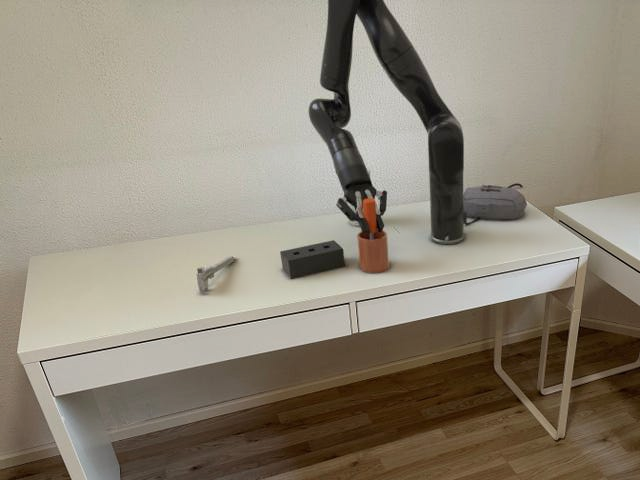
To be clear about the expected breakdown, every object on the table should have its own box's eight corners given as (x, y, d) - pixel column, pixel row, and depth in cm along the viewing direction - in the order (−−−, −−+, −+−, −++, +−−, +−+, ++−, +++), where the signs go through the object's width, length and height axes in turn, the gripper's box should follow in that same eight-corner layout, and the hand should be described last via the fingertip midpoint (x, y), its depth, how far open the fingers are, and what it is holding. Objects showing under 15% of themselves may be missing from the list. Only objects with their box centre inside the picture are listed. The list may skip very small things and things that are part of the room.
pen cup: (369, 259, 180) (367, 227, 175) (394, 264, 177) (392, 231, 172) (354, 270, 174) (351, 237, 169) (379, 275, 172) (377, 242, 167)
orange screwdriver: (371, 253, 176) (366, 197, 168) (381, 255, 175) (377, 199, 167) (365, 257, 173) (360, 201, 165) (375, 259, 172) (371, 203, 164)
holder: (282, 269, 174) (279, 251, 171) (335, 257, 181) (333, 240, 178) (290, 278, 169) (288, 260, 167) (345, 266, 176) (343, 248, 173)
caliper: (204, 294, 162) (199, 271, 158) (200, 294, 162) (194, 270, 159) (235, 259, 179) (231, 237, 176) (231, 259, 179) (227, 236, 176)
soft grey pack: (458, 220, 204) (524, 224, 202) (458, 193, 199) (526, 197, 197) (466, 203, 216) (528, 206, 214) (466, 177, 212) (529, 180, 210)
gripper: (327, 167, 164) (351, 231, 162) (380, 159, 170) (404, 220, 168) (322, 182, 171) (345, 244, 169) (373, 174, 177) (396, 233, 175)
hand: (374, 231), depth 169 cm, fingers closed on orange screwdriver, 3 cm apart
